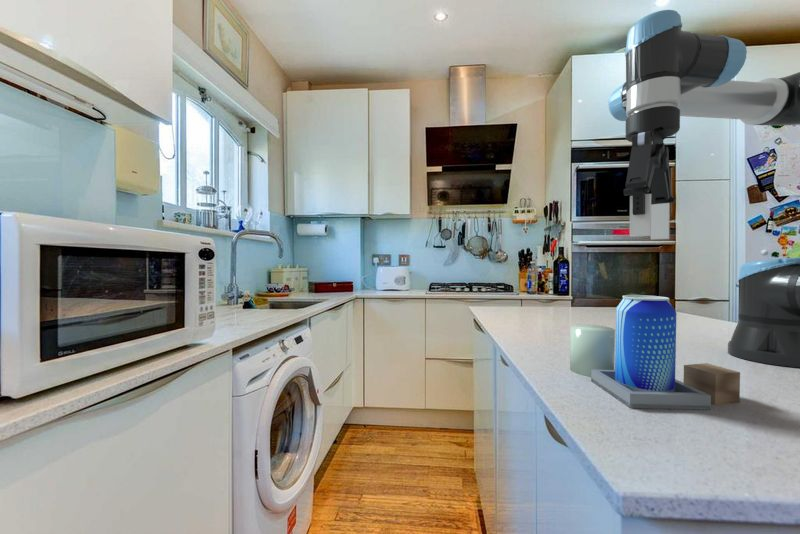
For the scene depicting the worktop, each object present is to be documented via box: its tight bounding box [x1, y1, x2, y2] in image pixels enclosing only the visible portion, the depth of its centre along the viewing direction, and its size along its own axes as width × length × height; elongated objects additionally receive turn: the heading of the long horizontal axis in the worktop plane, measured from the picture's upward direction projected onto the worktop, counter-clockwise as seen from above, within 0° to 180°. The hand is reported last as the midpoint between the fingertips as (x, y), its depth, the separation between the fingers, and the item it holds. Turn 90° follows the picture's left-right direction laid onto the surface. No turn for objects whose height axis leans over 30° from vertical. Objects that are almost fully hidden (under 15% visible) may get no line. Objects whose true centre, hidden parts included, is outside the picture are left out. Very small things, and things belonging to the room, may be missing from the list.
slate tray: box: [590, 369, 712, 411], centre depth 60 cm, size 12×12×2 cm
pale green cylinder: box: [569, 323, 616, 378], centre depth 72 cm, size 8×8×9 cm
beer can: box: [614, 294, 677, 392], centre depth 60 cm, size 8×8×16 cm
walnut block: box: [683, 362, 741, 406], centre depth 58 cm, size 5×5×5 cm
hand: (650, 238), depth 60 cm, fingers open, 13 cm apart
